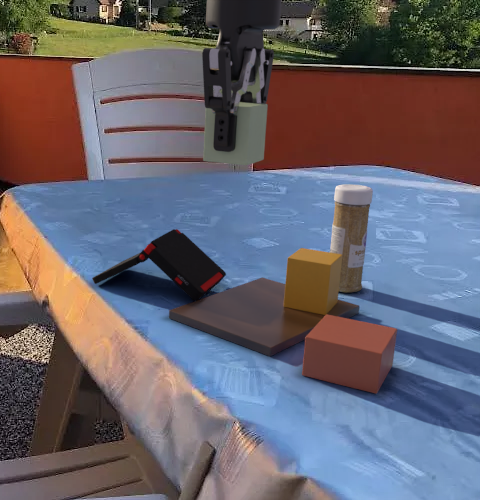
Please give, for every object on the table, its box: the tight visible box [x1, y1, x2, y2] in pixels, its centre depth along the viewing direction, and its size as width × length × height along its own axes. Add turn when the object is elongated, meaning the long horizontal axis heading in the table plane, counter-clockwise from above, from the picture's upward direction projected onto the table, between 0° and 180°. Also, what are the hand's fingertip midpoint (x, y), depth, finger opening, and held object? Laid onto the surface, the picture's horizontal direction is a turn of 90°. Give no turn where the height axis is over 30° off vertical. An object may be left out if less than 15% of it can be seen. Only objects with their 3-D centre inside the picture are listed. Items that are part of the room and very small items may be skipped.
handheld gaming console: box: [91, 228, 227, 301], centre depth 92 cm, size 9×12×10 cm
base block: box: [301, 314, 398, 395], centre depth 68 cm, size 7×7×4 cm
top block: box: [284, 247, 342, 315], centre depth 83 cm, size 5×5×6 cm
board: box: [168, 277, 360, 357], centre depth 82 cm, size 18×14×1 cm
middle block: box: [202, 102, 268, 167], centre depth 76 cm, size 5×5×6 cm
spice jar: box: [329, 184, 374, 294], centre depth 91 cm, size 5×5×13 cm
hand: (234, 147), depth 76 cm, fingers closed on middle block, 5 cm apart
